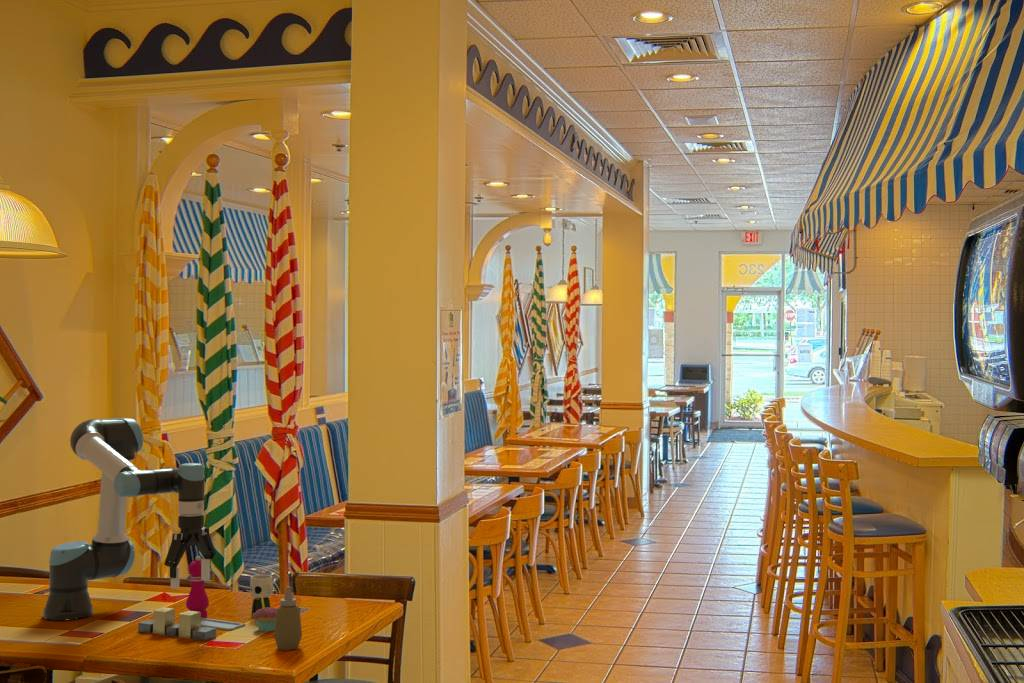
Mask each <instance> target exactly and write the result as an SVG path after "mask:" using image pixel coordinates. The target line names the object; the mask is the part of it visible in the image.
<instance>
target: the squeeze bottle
mask: <svg viewBox="0 0 1024 683" xmlns="http://www.w3.org/2000/svg"><path fill="white" fill-rule="evenodd" d="M285 587H286V588H285V592H284V596H283V598H281V599H280V600H279V601H280V606H278V607H277V608H276V609H277V614H276V623H275V630H274V632H273V634H274V635H273V637H274V641H275V643H276V647H277V649H278V650H280V651H292V650H293V649H294V650H296V649H298V648H299V645H300V643H301V640H302V637H303V634H302V633H303V631H302V622H301V611H300V610H301V609H300V606H298V605H297V598H295V597H294V596H293V593H292V587H291V586H288V585H287V586H285Z"/></svg>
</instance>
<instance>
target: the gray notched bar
mask: <svg viewBox="0 0 1024 683" xmlns="http://www.w3.org/2000/svg"><path fill="white" fill-rule="evenodd" d="M137 632H140V633H146V634H153V635H156V634H155V633H153V618H152V619H150V618H149V619H146V620H142V621H140V622H138V624H137ZM158 635H161V636H163V635H162V634H158ZM165 636H167V637H173V638H174V637H175V638H181V639H184V638H183V637H179V622H178V623H175V624H174V625H171V626H168V627H167V634H166V635H165ZM216 637H217V629H216V628H209V627H201V628H199V629H196V630H193V635H192V638H191V639H190V638H185V639H188V640H196V641H201V642H207V641H210V640H213V639H215V638H216Z"/></svg>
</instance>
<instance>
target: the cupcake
mask: <svg viewBox="0 0 1024 683" xmlns="http://www.w3.org/2000/svg"><path fill="white" fill-rule="evenodd" d="M261 601H262V607H263V608H262V609H259V610H257V611H256V612H255V613H253V616H252V617H253V621H255V623H256V625H257V628H258V630H259V631H260V632H272V631H275V623H276V614H277V608H275V607H271V606H270V607H266V608H265V606H264V599H263V595H262V593H261Z"/></svg>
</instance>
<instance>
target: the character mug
mask: <svg viewBox="0 0 1024 683" xmlns="http://www.w3.org/2000/svg"><path fill="white" fill-rule="evenodd" d="M273 580H274V578H273V575H271V574H255V575H252V576H251V577H250V582H249V589H250V591H249V593H250V596H251V597H252V598H253V600H252V606H251V613H250V614H251V616H252V617H254V616H253V615H254V613H255V612H256V611H257V610H259V609H262V608H263V607H262V601H261V593H262V595H263V599H264V606H265V608H266V607H271V602H270V598H269V597H272V595H273V593H274V583H273Z"/></svg>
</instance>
